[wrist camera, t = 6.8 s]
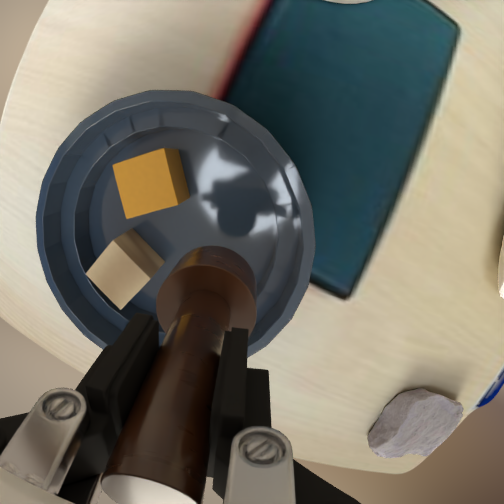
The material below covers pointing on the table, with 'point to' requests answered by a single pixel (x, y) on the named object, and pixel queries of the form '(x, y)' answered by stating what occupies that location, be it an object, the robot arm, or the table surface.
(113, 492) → the pestle
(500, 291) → the skull bowl
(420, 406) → the stone block
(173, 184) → the mustard block
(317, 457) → the table surface
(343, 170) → the table surface
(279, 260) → the bowl
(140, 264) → the cream block
